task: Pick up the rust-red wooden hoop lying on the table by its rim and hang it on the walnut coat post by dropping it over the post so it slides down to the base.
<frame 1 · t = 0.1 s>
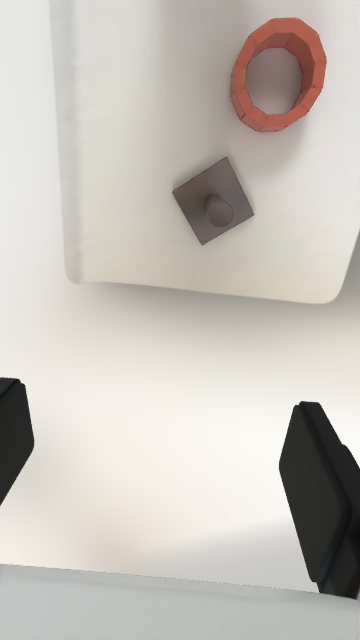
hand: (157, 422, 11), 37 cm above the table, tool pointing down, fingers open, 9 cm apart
hoop: (271, 85, 37), on the table
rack: (213, 203, 43), on the table
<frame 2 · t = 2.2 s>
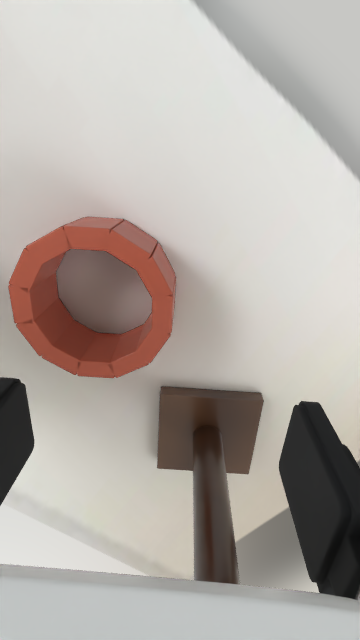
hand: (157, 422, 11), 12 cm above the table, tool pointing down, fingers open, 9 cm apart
hoop: (107, 288, 22), on the table
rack: (206, 428, 27), on the table
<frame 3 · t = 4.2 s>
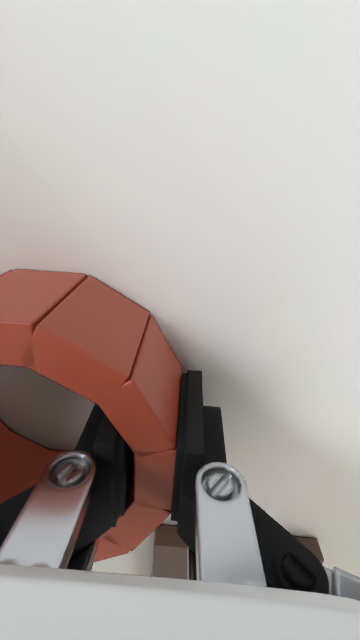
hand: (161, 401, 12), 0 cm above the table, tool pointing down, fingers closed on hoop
hoop: (63, 385, 13), on the table, touching gripper
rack: (226, 577, 18), on the table
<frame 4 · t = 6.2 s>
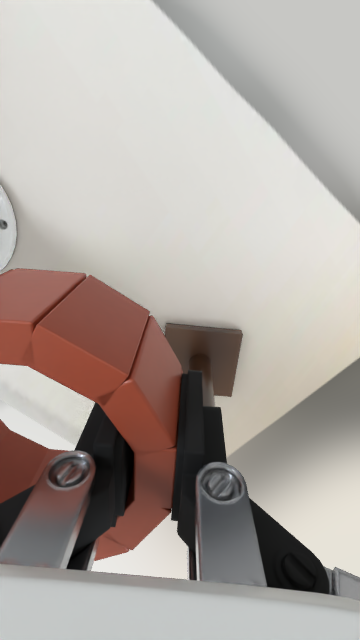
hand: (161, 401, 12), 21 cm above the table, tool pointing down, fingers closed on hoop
hoop: (63, 384, 13), point 20 cm above the table, touching gripper
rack: (199, 358, 36), on the table
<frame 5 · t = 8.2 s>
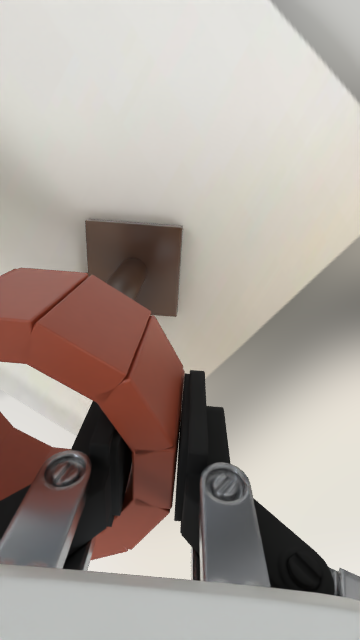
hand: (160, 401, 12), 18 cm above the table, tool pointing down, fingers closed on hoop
hoop: (66, 383, 13), point 17 cm above the table, touching gripper
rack: (135, 268, 29), on the table
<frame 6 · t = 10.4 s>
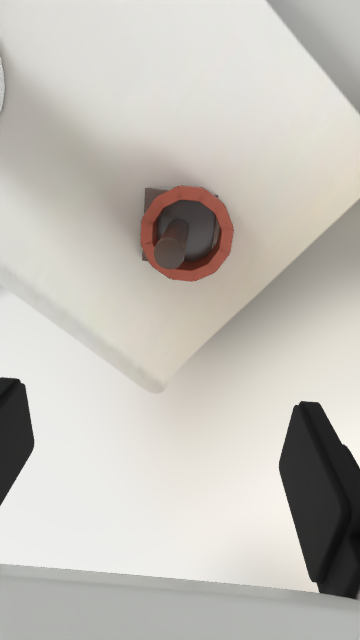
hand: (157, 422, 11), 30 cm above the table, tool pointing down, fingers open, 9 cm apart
hoop: (187, 230, 36), point 1 cm above the table, touching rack
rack: (179, 228, 37), on the table
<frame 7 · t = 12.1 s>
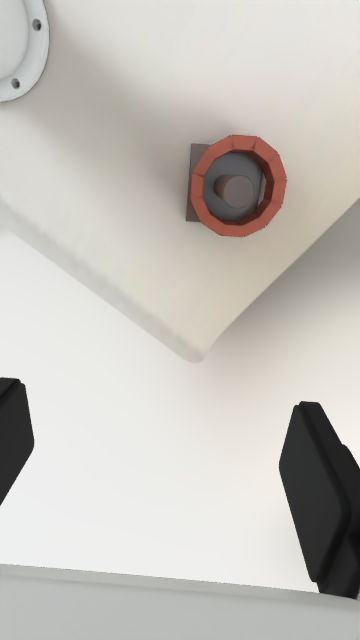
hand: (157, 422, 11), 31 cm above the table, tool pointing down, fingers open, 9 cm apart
hoop: (233, 187, 36), point 1 cm above the table, touching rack
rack: (223, 186, 37), on the table
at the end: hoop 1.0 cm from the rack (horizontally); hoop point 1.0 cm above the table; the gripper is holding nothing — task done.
